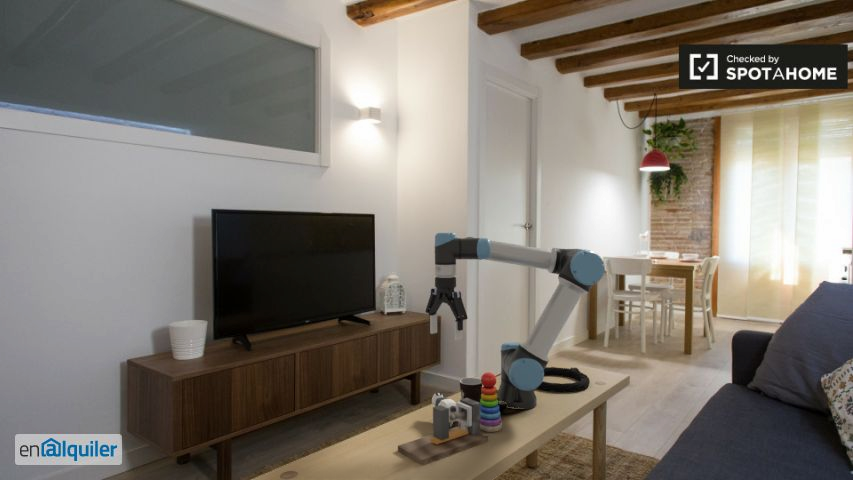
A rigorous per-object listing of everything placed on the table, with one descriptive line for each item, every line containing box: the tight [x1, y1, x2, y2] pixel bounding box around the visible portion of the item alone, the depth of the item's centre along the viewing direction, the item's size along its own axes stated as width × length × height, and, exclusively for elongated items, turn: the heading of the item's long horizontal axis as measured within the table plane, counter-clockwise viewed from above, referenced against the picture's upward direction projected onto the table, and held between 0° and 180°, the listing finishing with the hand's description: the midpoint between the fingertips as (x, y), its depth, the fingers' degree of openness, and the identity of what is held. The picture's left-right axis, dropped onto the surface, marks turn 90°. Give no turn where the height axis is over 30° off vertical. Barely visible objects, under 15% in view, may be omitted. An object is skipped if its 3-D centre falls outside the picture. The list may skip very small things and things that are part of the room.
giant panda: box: [431, 391, 460, 429], centre depth 176 cm, size 15×6×10 cm, turn 27°
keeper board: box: [397, 398, 489, 466], centre depth 157 cm, size 26×12×12 cm, turn 128°
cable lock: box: [536, 366, 591, 393], centre depth 221 cm, size 28×4×30 cm
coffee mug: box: [459, 377, 483, 404], centre depth 188 cm, size 12×9×10 cm
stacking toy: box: [480, 371, 503, 433], centre depth 170 cm, size 8×8×19 cm
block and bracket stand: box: [430, 401, 472, 445], centre depth 158 cm, size 13×6×10 cm, turn 128°
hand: (445, 336), depth 180 cm, fingers open, 13 cm apart
